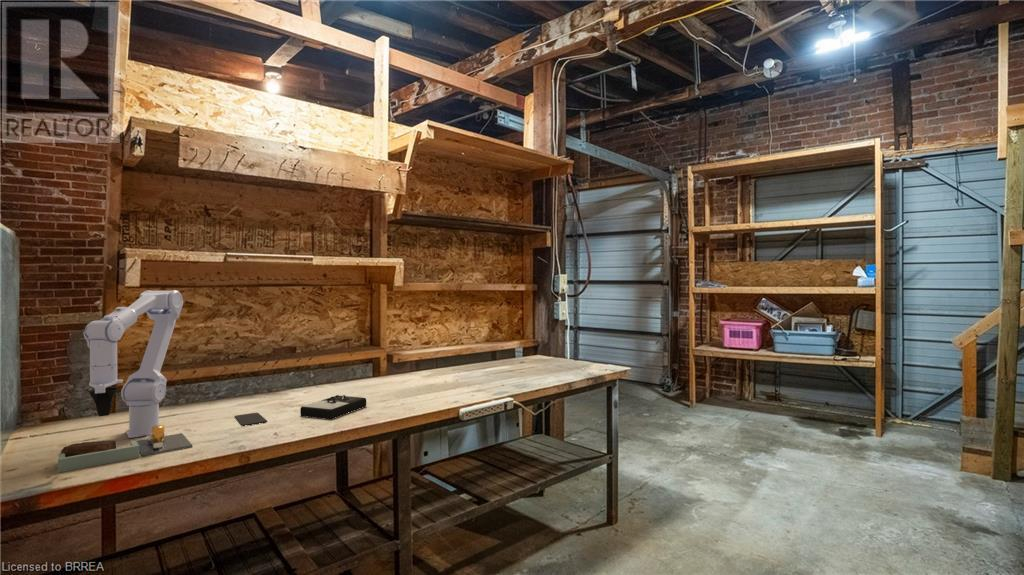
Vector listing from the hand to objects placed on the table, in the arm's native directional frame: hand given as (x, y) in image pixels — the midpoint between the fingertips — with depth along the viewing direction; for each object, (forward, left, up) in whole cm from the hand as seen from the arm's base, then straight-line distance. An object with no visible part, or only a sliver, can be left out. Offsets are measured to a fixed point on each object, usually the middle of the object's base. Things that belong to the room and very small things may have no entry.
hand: (104, 415), depth 135 cm
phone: (-7, +38, -10) cm, 40 cm away
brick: (+8, -4, -10) cm, 13 cm away
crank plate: (+6, +12, -9) cm, 17 cm away
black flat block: (+1, +63, -10) cm, 64 cm away
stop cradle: (+10, -2, -9) cm, 13 cm away
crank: (+6, +11, -8) cm, 15 cm away
